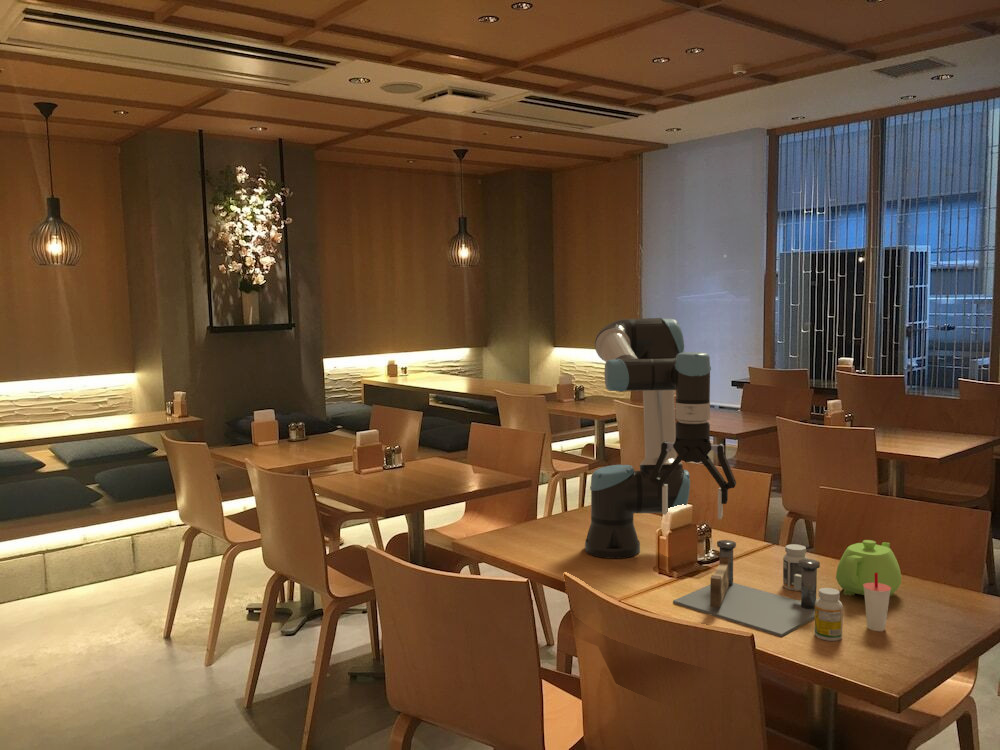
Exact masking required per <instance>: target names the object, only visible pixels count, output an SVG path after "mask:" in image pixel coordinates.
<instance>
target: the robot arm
mask: <svg viewBox="0 0 1000 750" xmlns="http://www.w3.org/2000/svg"><path fill="white" fill-rule="evenodd" d="M594 349H595V352H596V354H597V355H598V357H599V358H600V359H601V360H602V361H604V362H605V365H604V385H605V389H607V391H609V392H612V391H613V392H619V393H623V392H639V391H640V392H642V399H643V400H642V403H643V431H644V459H643V460H642V461H641V462H640V463H639V470H635V469H634V468H633V466H632V465H631V464H630V465H629V464H612V465H607V466H602V467H600V468H598V469H595V470H594V471H593V472H592V474H591V477H590V488H589V489H590V525H589V527H588V528H589V529H588V531H587V535H586V539H585V541H584V551H585V553H586V554H587V553H588V555H591V556H594V557H597V558H603V559H624V558H630V557H634V556H636V555H638V554H640V552H641V543H640V540H639V537H638V534H637V530H636V527H635V524H634V514H662V515H663V516H666V515H667V512H668V508H670V507H674V506H677V505H682V504H684V505H686V506H687V505H688V502H689V499H690V498H689V497H690V491H691V490H690V488H691V479H690V472H689V470H686V469H683V467H684V466H683V464H684V463H695V464H696V463H697V464H699V463H702V464H703V466H704V467H705V468H706V469H707V471H708V472H709V474H710V475H711V476H712V478H713V479H714V480H715V482H716V483H717V484H718V486H719V488H718V489H717V520H722V518H723V517H724V516H723V515H724V511H723V510H724V509H723V508H724V506H723V505H727V503H728V500H729V499H728V497H729V495H728V494H729V492H728V491H729V490H730V489H734V488H735V487H736V485H737V481H736V479H735V476H734V474H733V470H732V469H731V466H730V464H729V461H728V459H727V456H726V454H725V445H724V444H723V443H719V444H712V442H711V441H710V439H711V436H710V434H711V433H710V432H711V430H710V429H711V427H710V426H711V424H710V422H709V420H710V418H711V402H710V401H711V400H710V398H711V395H710V393H711V391H710V389H711V370H712V367H711V361H710V359H711V358H710V355H709V354H708V353H707V352H700V351H686V352H685V340H684V336H683V332H682V328H681V326H680V324H679V322H678V320H676V319H674V318H663V317H657V318H655V317H654V318H653V317H651V318H648V317H647V318H622V319H617V320H614V321H612V322H610V323H608V324H606V325H604V326H603V327H602V328H601V329H600V330H599V331H598V332H597V334H596V336H595V339H594ZM676 420H677V421H676ZM711 451H712V452H713V453H714V454H715V455H717V458H718V461H719V464H720V465H721V468H722V471H723V473H724V475H725V478H726V480H725V478H724V477H723V475H722V474H721V473H720V471H719V470H718V468H717V466H715V464H714V463H713V462H712V459H711V458H710V456H709V455H708V454H710V452H711ZM683 462H684V463H683Z"/></svg>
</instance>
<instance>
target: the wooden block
mask: <svg viewBox="0 0 1000 750" xmlns="http://www.w3.org/2000/svg"><path fill="white" fill-rule="evenodd" d="M719 560H720V563H718V566H717V568H716V570H715V572H714V574H713V575H712V574H711V575H710V576H711V577H710V584H709V585H710V607H718V608H720V605H721V603H722V601H723V598H724V596H725V593H726V591H727V588H728V586H729V558H728V557H720V556H719Z"/></svg>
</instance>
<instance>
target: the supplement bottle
mask: <svg viewBox="0 0 1000 750" xmlns="http://www.w3.org/2000/svg"><path fill="white" fill-rule="evenodd" d="M818 597H819V598H816V601H815V618H814V635H815V636H816V637H817V638H818V639H821V640H822V641H827V642H837V641H840V640H842V637H843V616H844V613H843V612H844V606H843V603H842V602H841V600H840V599H841V598H840V597H841V595H840V591H839V590H838V589H835V588H831V587H821V588H819V589H818Z"/></svg>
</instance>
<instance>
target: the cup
mask: <svg viewBox="0 0 1000 750" xmlns="http://www.w3.org/2000/svg"><path fill="white" fill-rule="evenodd" d="M863 586H864V595H863V596H864V606H865V618H866V628H867V629H868V630H871V631H875V632H884V631H885V630H886V624H887V619H888V610H889V604H890V603H889V602H890V597H891V596H890V590H891V587H890V586H888V585H885V584H881V583H878V573H875V583H865V584H863Z"/></svg>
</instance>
